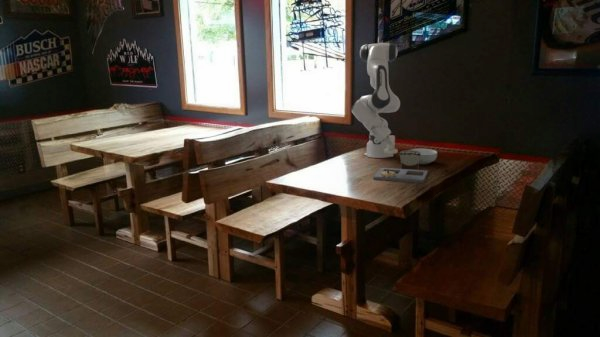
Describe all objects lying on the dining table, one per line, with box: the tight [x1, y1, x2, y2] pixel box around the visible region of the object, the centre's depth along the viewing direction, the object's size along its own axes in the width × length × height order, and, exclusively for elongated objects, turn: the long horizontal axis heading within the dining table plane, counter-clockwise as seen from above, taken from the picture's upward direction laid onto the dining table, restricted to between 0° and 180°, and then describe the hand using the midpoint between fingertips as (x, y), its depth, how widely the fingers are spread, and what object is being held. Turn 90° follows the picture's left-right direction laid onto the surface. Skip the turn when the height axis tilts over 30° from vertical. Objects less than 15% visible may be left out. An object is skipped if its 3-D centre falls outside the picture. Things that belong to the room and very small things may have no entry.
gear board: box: [372, 167, 429, 184], centre depth 266 cm, size 20×26×5 cm
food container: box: [398, 149, 421, 170], centre depth 282 cm, size 12×6×10 cm, turn 74°
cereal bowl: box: [410, 148, 438, 165], centre depth 294 cm, size 17×17×7 cm
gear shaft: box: [384, 134, 399, 155], centre depth 267 cm, size 7×7×9 cm
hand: (392, 143), depth 267 cm, fingers closed on gear shaft, 4 cm apart
